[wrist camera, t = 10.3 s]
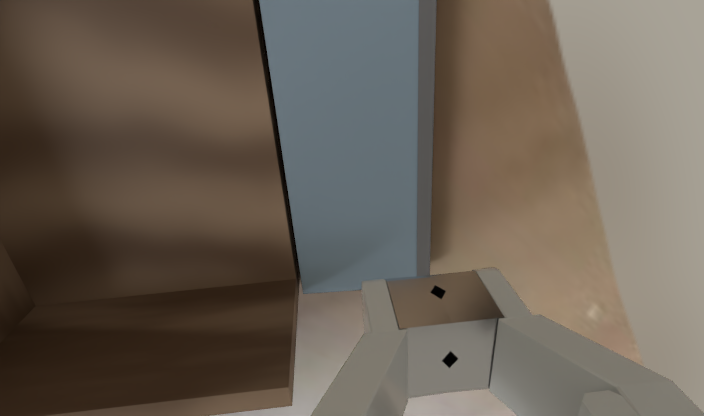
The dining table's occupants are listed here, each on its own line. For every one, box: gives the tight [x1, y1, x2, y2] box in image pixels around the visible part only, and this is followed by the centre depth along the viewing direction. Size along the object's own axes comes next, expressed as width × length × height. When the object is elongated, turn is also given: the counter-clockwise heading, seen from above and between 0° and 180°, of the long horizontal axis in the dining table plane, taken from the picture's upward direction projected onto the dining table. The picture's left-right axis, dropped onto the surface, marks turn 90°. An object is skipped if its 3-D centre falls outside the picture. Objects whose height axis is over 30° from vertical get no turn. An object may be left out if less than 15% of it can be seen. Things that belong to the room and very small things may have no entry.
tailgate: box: [259, 0, 437, 294], centre depth 21 cm, size 20×1×8 cm
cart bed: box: [0, 0, 299, 416], centre depth 17 cm, size 20×17×10 cm
